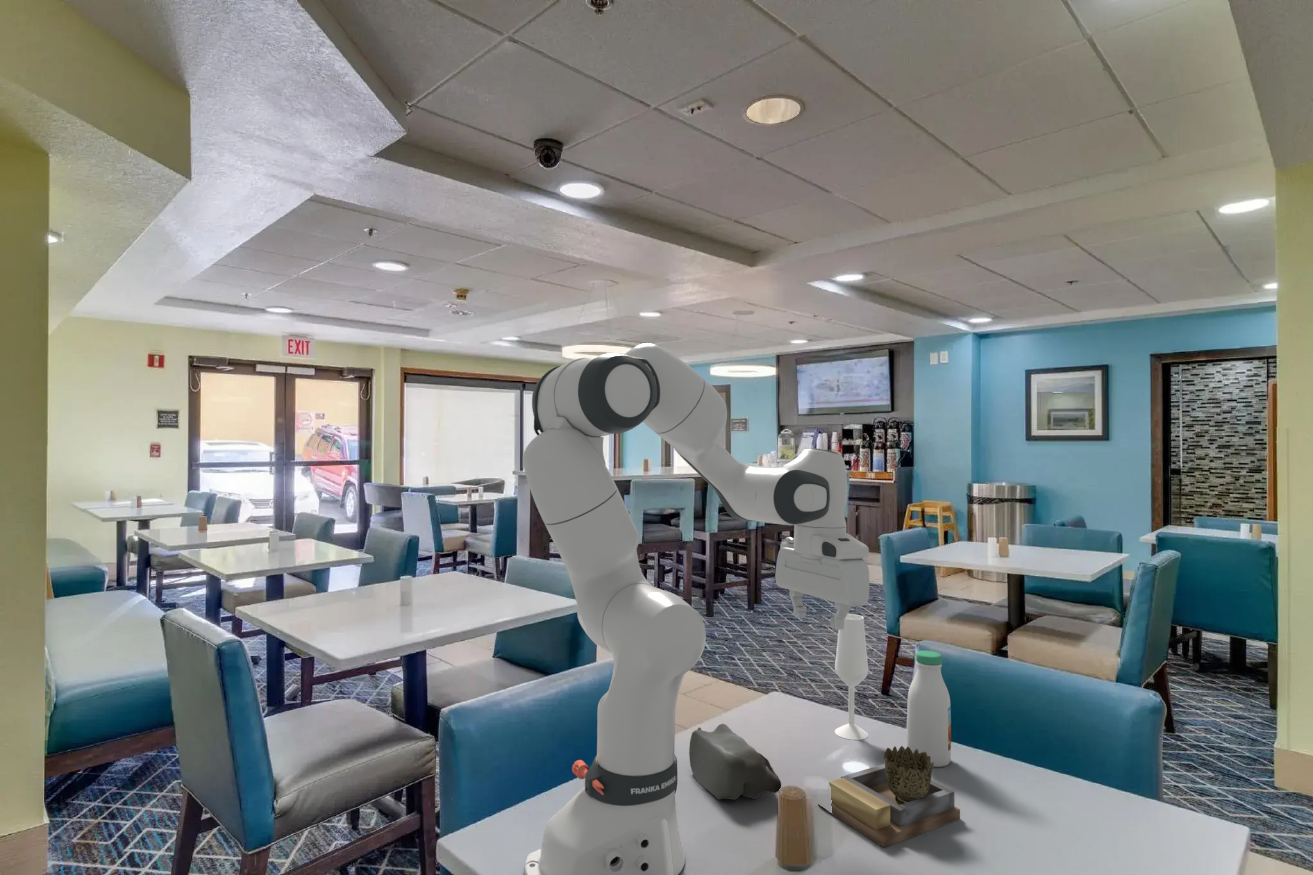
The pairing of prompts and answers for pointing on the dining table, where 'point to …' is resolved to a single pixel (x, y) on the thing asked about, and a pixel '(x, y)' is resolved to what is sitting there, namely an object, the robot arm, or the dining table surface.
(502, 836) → the dining table surface
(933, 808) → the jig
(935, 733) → the milk bottle
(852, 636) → the champagne flute
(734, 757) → the rock
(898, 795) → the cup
